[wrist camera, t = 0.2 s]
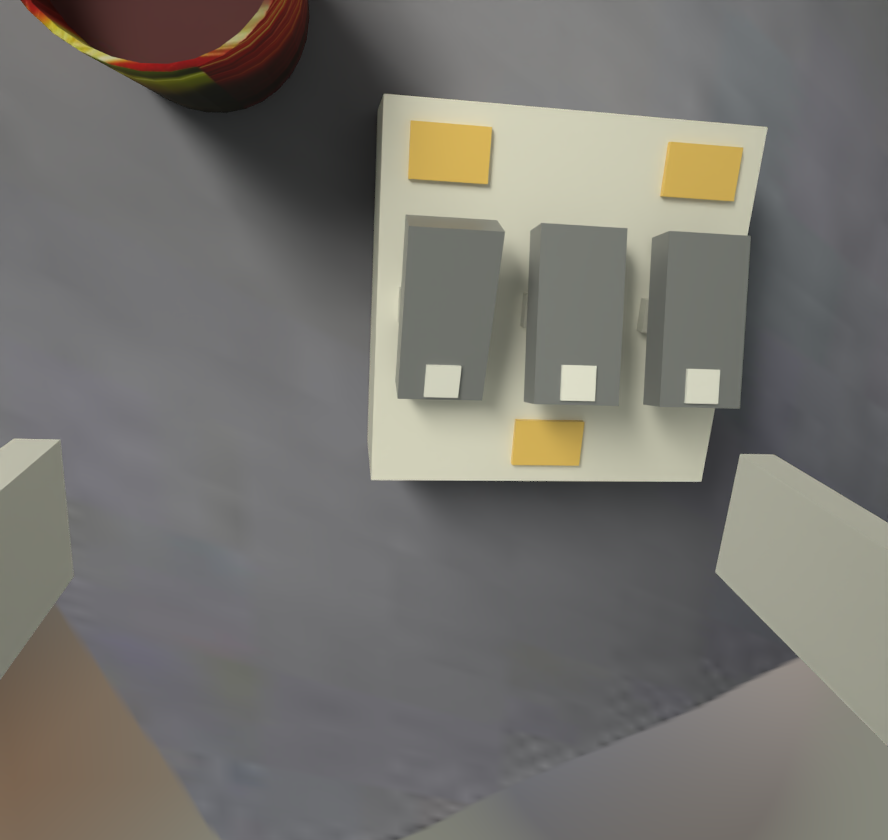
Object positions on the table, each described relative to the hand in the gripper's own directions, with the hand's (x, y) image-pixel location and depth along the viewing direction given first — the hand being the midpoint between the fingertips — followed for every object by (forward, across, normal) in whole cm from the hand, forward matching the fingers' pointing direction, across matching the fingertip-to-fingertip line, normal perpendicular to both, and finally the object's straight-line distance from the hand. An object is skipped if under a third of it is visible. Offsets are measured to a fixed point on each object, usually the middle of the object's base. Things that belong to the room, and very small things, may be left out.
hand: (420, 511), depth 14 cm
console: (+26, +9, +1) cm, 28 cm away
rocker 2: (+19, +9, +1) cm, 21 cm away
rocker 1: (+19, +3, +1) cm, 19 cm away
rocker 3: (+18, +15, +1) cm, 24 cm away
